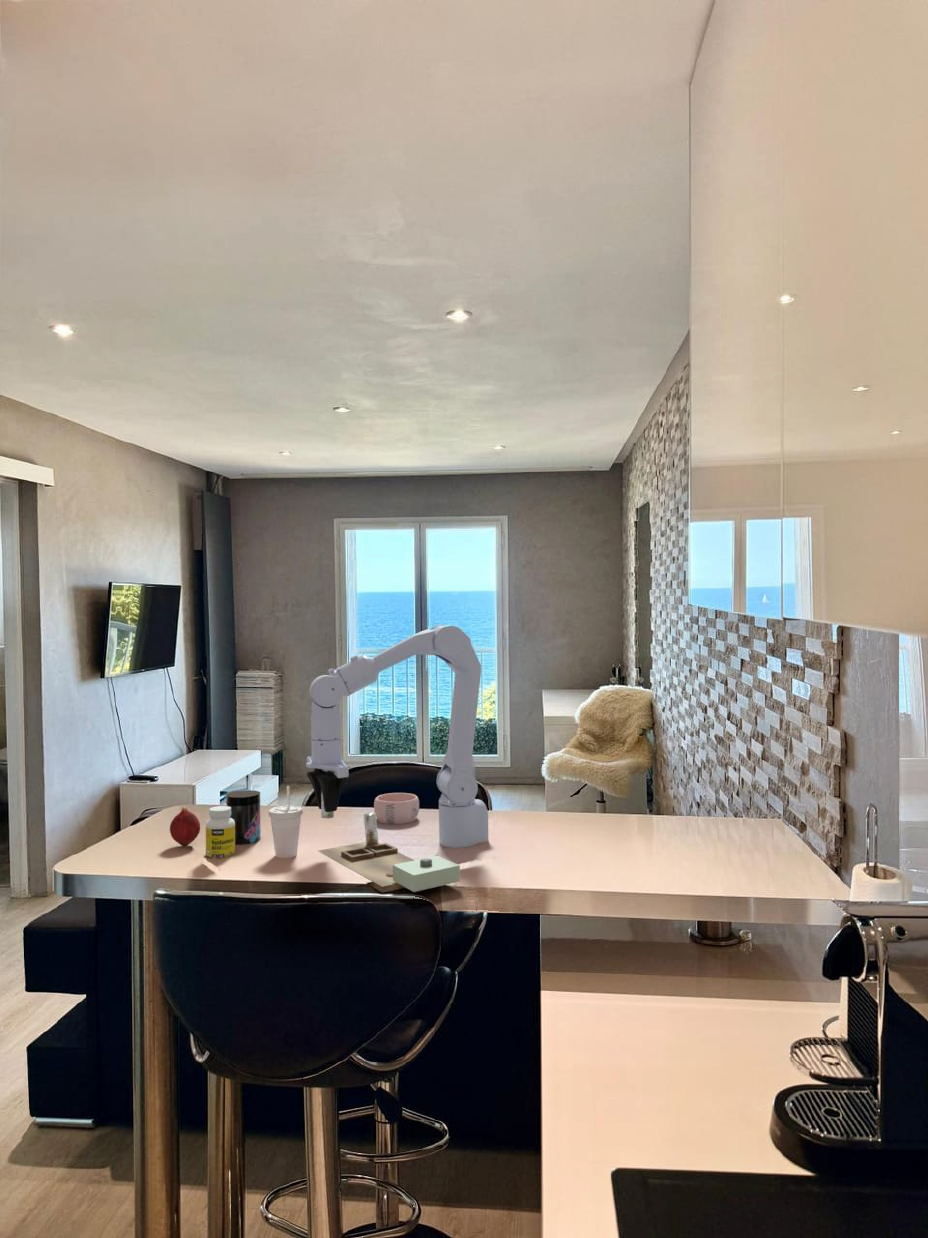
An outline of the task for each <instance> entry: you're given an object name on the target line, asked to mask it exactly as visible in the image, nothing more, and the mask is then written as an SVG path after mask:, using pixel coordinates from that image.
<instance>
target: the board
mask: <svg viewBox="0 0 928 1238" xmlns="http://www.w3.org/2000/svg"><path fill="white" fill-rule="evenodd" d="M398 850H399V849H398V847H395V846H393V845H391V844H389V843H387V842H385V843H380V842H378V845H373V846H367V845H366V841H363V842H359V843H353V844H347V845H342V846H341V845H340V846H336V847H332V848H326V849H320V850H318V852H320V853H321V854H323V856H326V857H328V858H330V859H331V860H333V861H335V862H337V863H338V864H340V865H342V866H344V867H345V868H347V869H349V870H351V871H353V872H355V873H356V874H358V875H360V876H362V877H363V878H365V879H367V880H369V882H365V884H366V885H368V886H370V887H371V888H374V889H375V890H377V891H379V892H380V893H386V892H387V893H388V892H392V891H397V890H400V889H407V888H406V887H404V886H402V885H400V884H398V883H396V882H394V881H393V865H394V864H399V863H404V862H409V861H414V860H415V859H413V858H412V857H410V856H407V855H405V854H403V853H401V852H399V851H398Z"/></svg>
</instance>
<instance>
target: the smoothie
mask: <svg viewBox="0 0 928 1238" xmlns="http://www.w3.org/2000/svg"><path fill="white" fill-rule="evenodd" d="M290 787H291V786H289V785H288V786H286V805H281V806H274V807H272V808H270V809H268V817H269V818H270V823H271V830H272V831H271V832H272V836H273V837H272V840H273V845H274V853H275V857H276V858H278V859H279V858H280V859H290V858H294V857H296V856H297V855H298V849H299V839H300V829H301V821H302V816H303V814H304V811H303V807H302V806H298V805H291V796H290V795H291V788H290Z"/></svg>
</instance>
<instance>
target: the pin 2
mask: <svg viewBox="0 0 928 1238" xmlns="http://www.w3.org/2000/svg"><path fill="white" fill-rule="evenodd" d="M377 821H378V820H377V817H376V813H375V812H373V811H371V812H365V813H364V814H363V824H364V835H365V842H366V845H367V846H373V845H378V843H379V835H378V824H377Z"/></svg>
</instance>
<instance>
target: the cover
mask: <svg viewBox="0 0 928 1238" xmlns="http://www.w3.org/2000/svg"><path fill="white" fill-rule="evenodd" d="M413 860H414V861H409V862H404V863H399V864H394V865H393V881H394V882H396V883H398V884H400V885H402V886H404V887H406V888H405V889H407V890H410V891H411V892H413V893H416V892H421V891H424V890H427V889H428V890H429V889H433V888H437V887H442V886H446V885H450V884H451V885H452V884H454V883H460V881H461V866H460V864H458V863H456V862H453V861H451V860H448V859H446V858H444V857H442V856H439V855H434V856H429V857H424V858H421V859H419V858H418V859H413Z"/></svg>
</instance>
